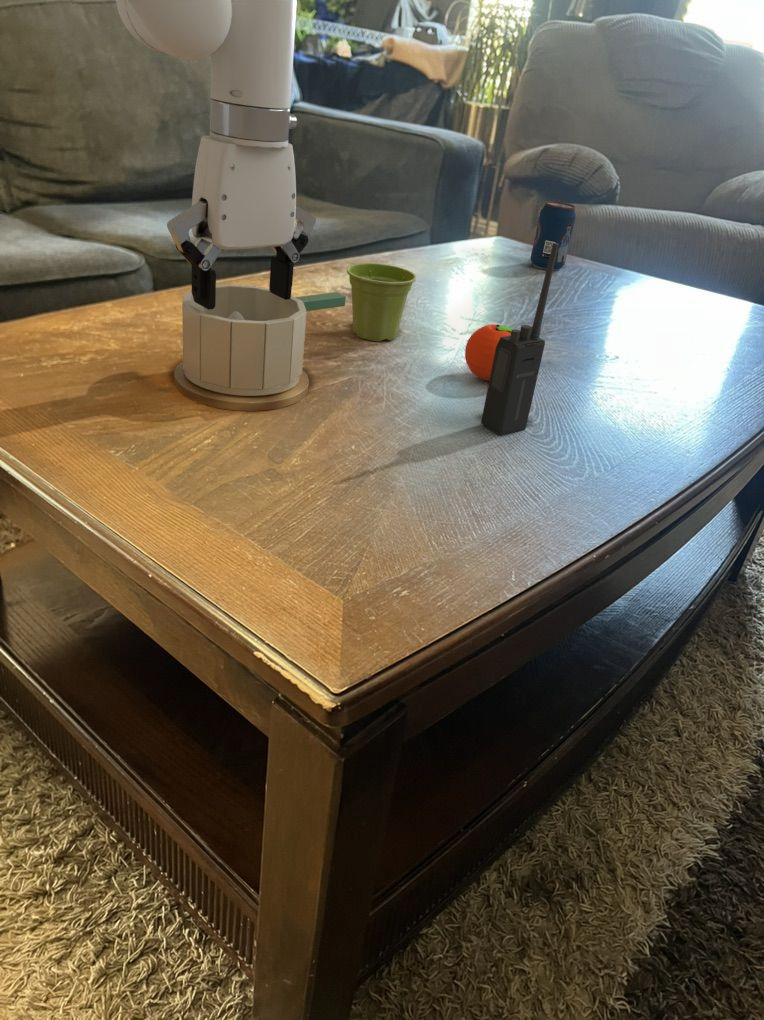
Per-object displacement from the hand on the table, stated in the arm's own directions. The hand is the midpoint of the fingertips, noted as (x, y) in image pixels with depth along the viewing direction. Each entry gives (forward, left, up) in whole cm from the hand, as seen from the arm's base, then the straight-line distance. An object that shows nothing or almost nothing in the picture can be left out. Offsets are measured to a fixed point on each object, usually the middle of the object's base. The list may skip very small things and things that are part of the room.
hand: (243, 300), depth 83 cm
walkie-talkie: (+19, -23, -10) cm, 32 cm away
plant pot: (+26, +6, -10) cm, 29 cm away
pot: (+4, 0, -8) cm, 9 cm away
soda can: (+88, +22, -10) cm, 91 cm away
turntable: (0, 0, -10) cm, 10 cm away
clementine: (+29, -13, -10) cm, 33 cm away
